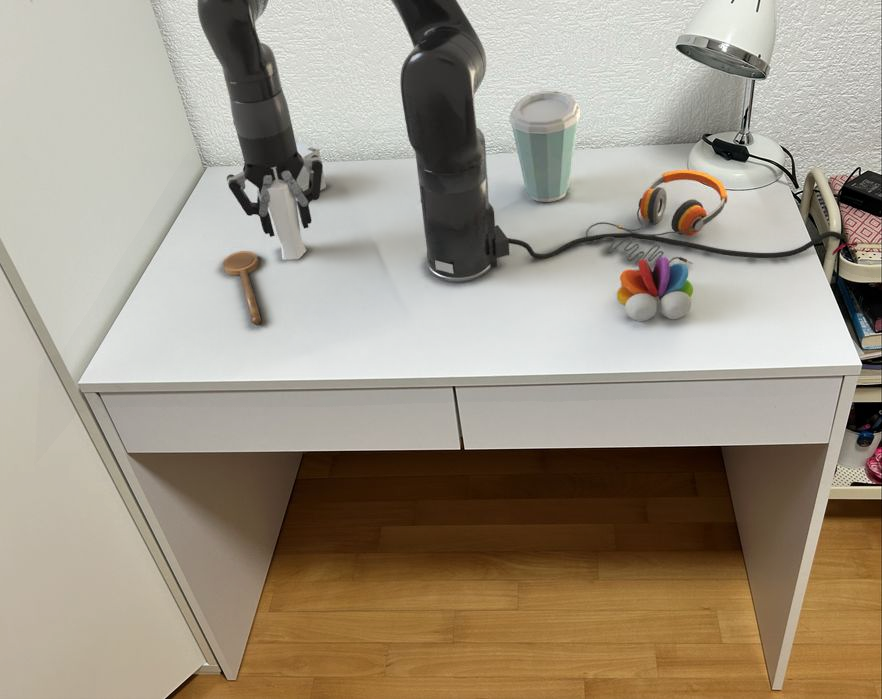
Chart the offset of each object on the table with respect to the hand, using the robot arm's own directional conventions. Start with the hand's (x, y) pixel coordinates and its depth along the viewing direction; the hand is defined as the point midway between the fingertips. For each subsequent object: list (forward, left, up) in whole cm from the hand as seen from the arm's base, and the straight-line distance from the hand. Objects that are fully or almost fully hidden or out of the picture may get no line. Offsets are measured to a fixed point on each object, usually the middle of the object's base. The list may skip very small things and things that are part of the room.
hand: (288, 229), depth 129 cm
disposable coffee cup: (-41, +1, -4) cm, 41 cm away
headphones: (-52, +19, -4) cm, 55 cm away
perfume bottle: (0, 0, -4) cm, 4 cm away
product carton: (-5, -18, -4) cm, 19 cm away
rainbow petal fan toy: (-42, +34, -4) cm, 54 cm away
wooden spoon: (+8, +7, -4) cm, 11 cm away
